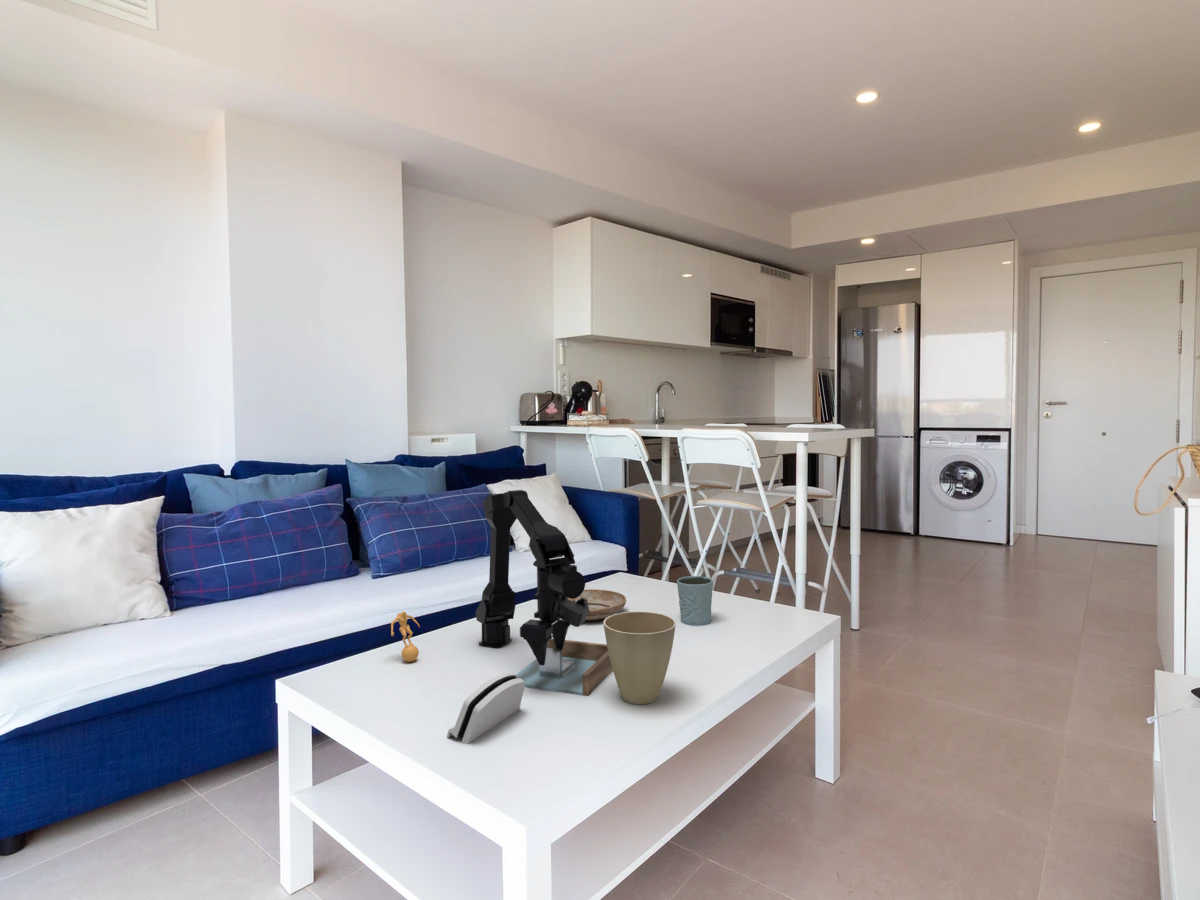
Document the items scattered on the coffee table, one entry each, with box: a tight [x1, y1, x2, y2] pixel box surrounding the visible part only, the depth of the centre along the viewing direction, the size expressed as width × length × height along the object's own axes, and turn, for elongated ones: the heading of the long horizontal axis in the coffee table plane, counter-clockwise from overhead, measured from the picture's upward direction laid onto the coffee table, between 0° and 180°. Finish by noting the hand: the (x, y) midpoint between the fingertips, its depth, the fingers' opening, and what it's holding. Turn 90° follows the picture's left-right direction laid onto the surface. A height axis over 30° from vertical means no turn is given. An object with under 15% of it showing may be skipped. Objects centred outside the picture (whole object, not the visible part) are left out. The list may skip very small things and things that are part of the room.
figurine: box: [390, 610, 421, 663], centre depth 160 cm, size 8×6×12 cm
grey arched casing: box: [446, 672, 526, 745], centre depth 126 cm, size 17×5×10 cm, turn 152°
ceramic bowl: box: [568, 588, 627, 621], centre depth 198 cm, size 23×24×5 cm
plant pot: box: [602, 611, 677, 705], centre depth 137 cm, size 15×15×16 cm
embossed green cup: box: [676, 575, 714, 627], centre depth 189 cm, size 10×10×12 cm
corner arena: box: [515, 637, 613, 697], centre depth 151 cm, size 19×19×4 cm
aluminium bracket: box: [539, 648, 574, 679], centre depth 151 cm, size 8×5×6 cm, turn 159°
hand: (551, 658), depth 148 cm, fingers open, 9 cm apart
